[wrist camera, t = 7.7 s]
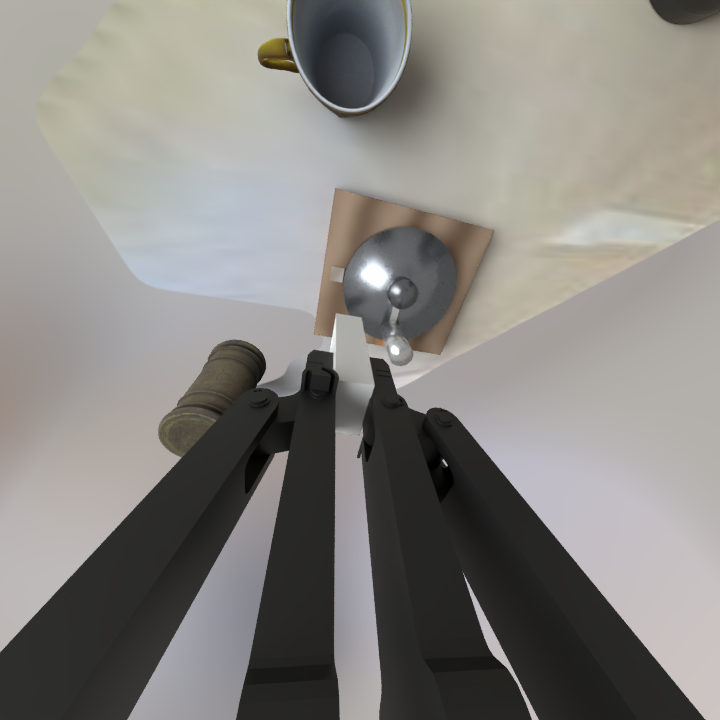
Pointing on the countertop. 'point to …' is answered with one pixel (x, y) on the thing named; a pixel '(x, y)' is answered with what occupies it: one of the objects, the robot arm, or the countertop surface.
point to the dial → (399, 286)
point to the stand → (369, 216)
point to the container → (212, 394)
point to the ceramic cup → (344, 50)
